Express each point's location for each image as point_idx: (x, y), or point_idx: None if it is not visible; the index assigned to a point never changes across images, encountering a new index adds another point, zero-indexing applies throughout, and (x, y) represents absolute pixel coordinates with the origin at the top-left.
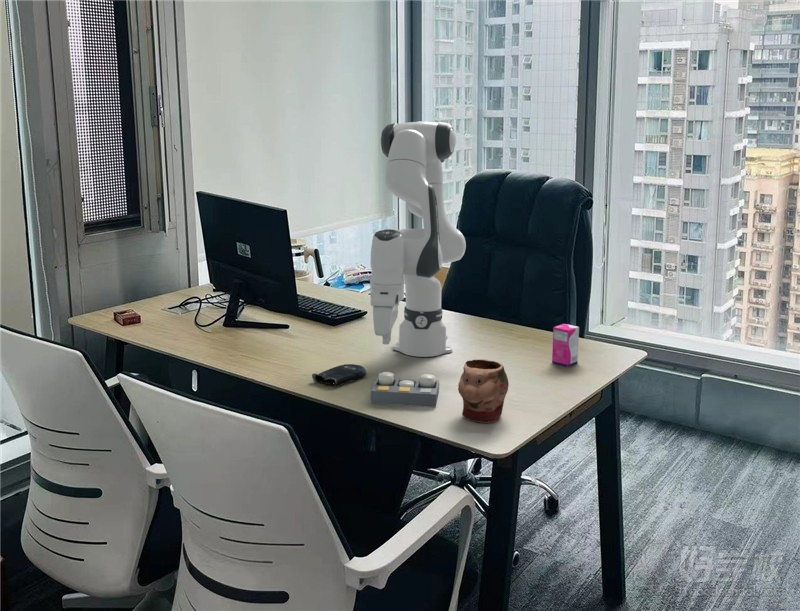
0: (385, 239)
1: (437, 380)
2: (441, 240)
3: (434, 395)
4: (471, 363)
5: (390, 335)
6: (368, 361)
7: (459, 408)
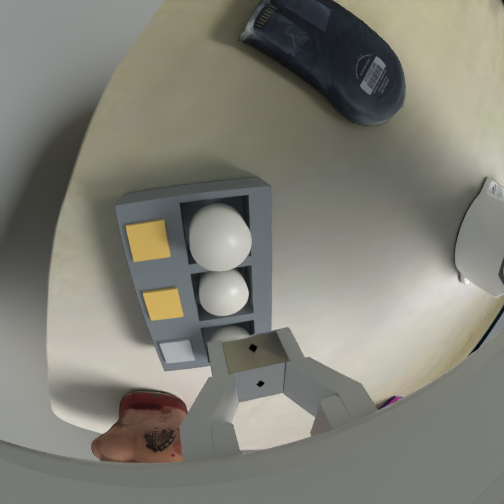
0: None
1: None
2: None
3: (163, 366)
4: None
5: (286, 394)
6: (447, 127)
7: (177, 379)
